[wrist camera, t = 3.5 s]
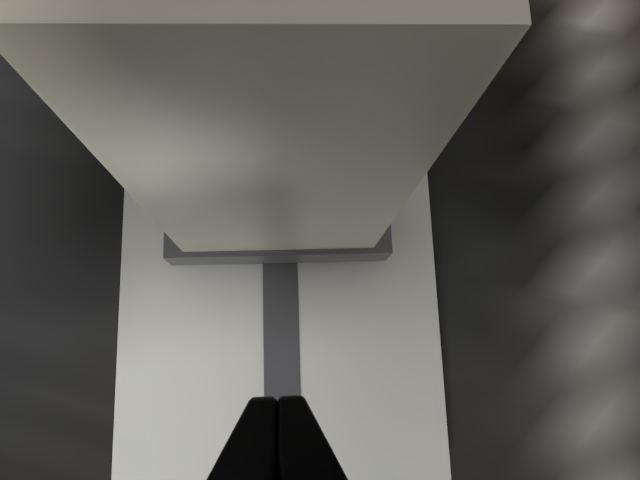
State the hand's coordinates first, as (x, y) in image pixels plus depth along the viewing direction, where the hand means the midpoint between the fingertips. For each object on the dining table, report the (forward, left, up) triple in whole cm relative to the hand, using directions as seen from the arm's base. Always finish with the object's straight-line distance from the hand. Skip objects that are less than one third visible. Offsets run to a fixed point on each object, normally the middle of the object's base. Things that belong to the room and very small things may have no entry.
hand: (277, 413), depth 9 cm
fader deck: (+3, +3, -8) cm, 9 cm away
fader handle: (+3, +3, -7) cm, 8 cm away
